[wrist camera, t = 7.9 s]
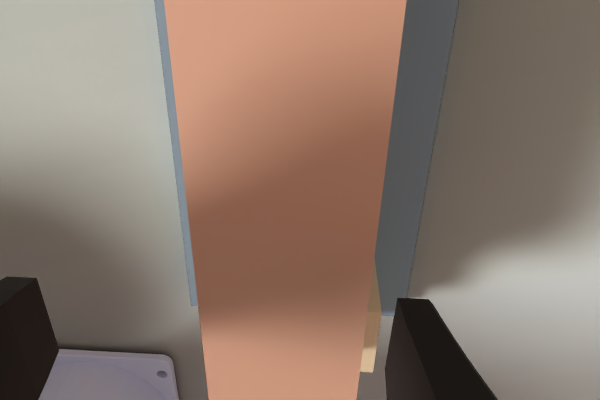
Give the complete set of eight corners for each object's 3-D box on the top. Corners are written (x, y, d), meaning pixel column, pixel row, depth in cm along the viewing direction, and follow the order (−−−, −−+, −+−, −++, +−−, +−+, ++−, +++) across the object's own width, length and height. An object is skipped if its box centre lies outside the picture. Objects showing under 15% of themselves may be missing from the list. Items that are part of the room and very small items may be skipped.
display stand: (400, 300, 22) (413, 374, 18) (196, 290, 22) (172, 361, 19) (474, -142, 14) (524, -156, 10) (147, -149, 14) (87, -166, 10)
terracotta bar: (340, 352, 18) (344, 493, 14) (244, 346, 18) (218, 485, 14) (382, -101, 11) (419, -103, 6) (221, -105, 11) (151, -109, 7)
